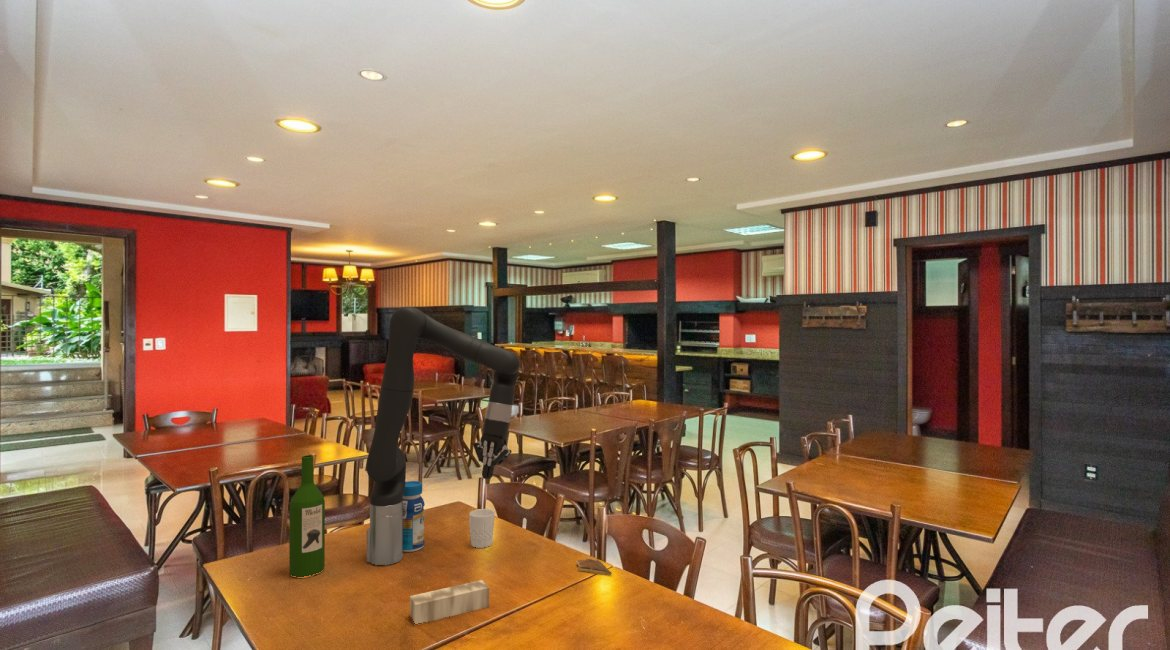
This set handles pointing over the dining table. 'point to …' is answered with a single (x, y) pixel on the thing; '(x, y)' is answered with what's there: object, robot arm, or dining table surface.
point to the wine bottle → (307, 525)
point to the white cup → (481, 527)
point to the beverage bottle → (413, 517)
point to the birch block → (449, 601)
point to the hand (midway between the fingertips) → (486, 478)
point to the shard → (592, 566)
